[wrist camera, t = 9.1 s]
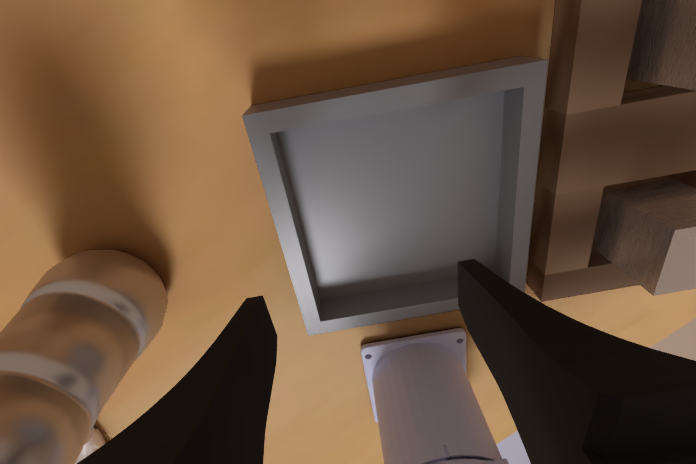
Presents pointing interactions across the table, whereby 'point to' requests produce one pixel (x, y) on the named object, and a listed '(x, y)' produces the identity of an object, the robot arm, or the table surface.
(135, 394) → the table surface
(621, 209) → the block
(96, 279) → the plastic bottle
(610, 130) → the wooden board with recesses
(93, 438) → the sitting furry creature
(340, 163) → the tray
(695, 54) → the block
